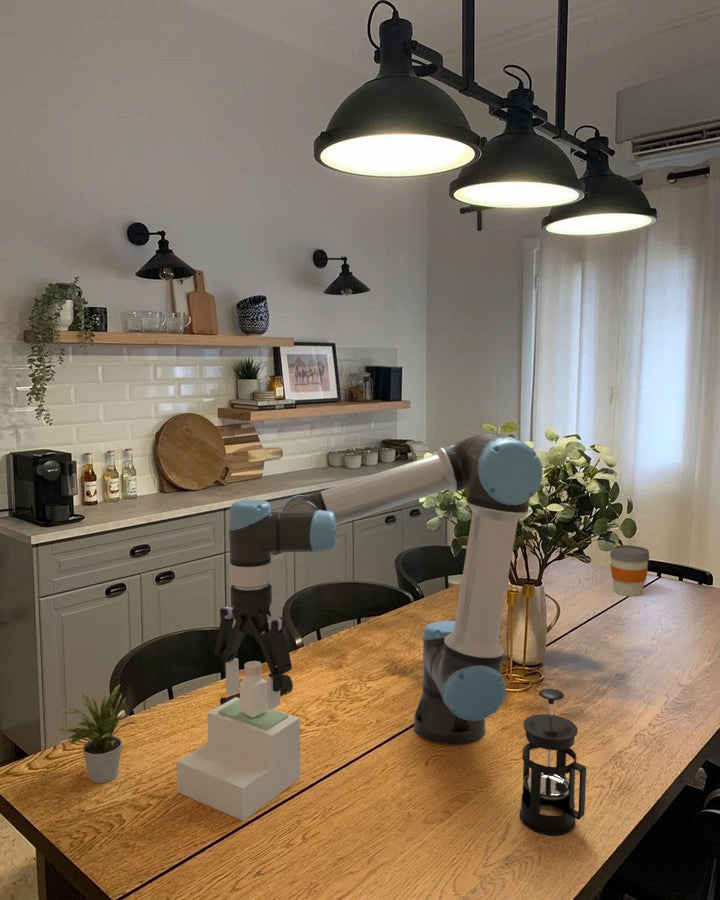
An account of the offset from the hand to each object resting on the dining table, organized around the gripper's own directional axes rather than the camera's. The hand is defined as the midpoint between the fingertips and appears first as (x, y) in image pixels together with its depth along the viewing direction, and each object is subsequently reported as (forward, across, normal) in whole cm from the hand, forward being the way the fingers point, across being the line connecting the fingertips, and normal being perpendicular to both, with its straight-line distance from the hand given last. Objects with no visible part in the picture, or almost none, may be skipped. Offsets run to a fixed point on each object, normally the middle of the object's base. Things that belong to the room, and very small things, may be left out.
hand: (253, 699), depth 141 cm
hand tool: (+16, +20, -24) cm, 35 cm away
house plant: (+15, +25, +15) cm, 33 cm away
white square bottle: (+3, 0, 0) cm, 3 cm away
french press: (+15, -52, -17) cm, 57 cm away
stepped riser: (+15, 0, +4) cm, 16 cm away
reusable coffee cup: (+15, -32, -156) cm, 160 cm away
